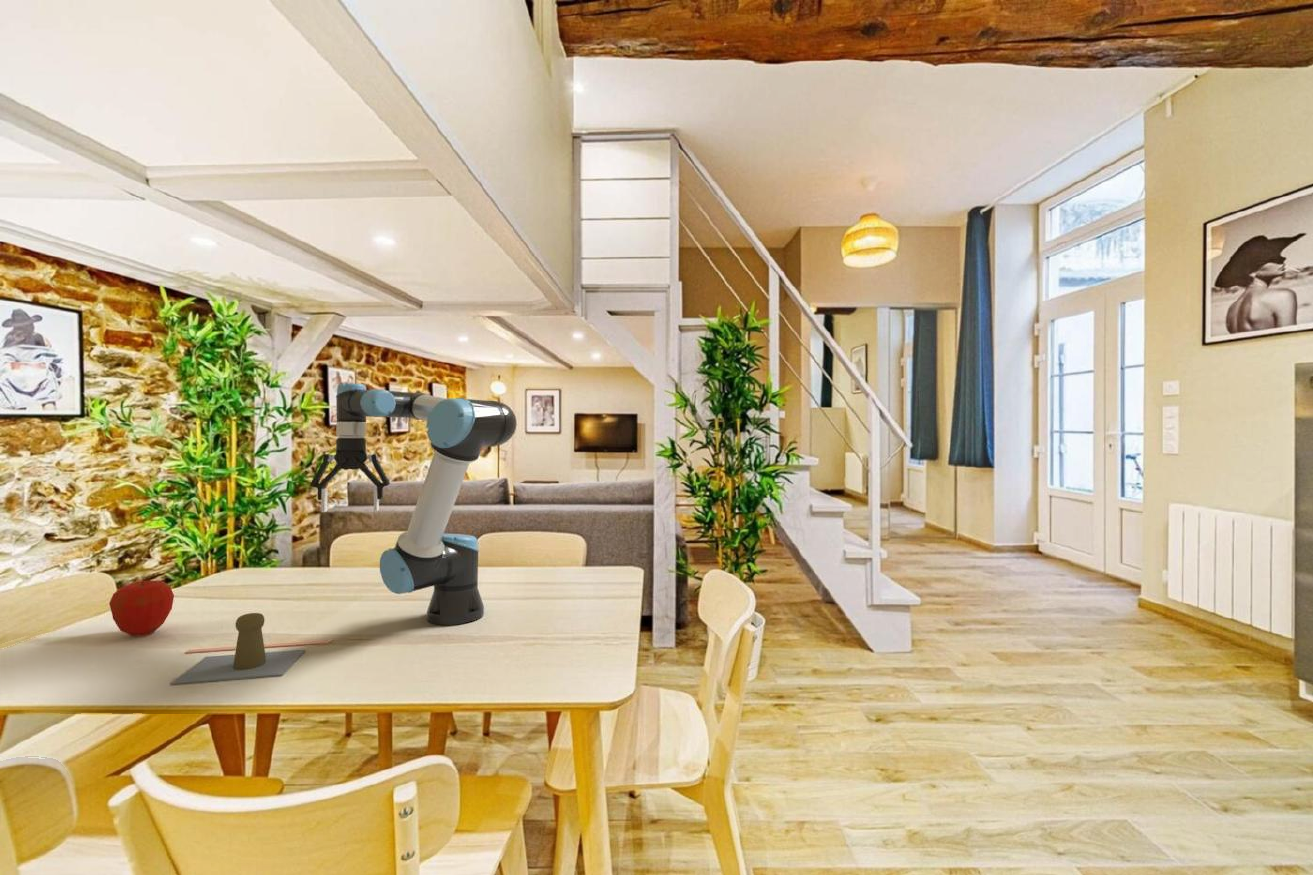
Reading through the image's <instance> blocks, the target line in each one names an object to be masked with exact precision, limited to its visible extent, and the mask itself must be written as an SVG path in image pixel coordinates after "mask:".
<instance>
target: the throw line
mask: <svg viewBox="0 0 1313 875" xmlns="http://www.w3.org/2000/svg"><path fill="white" fill-rule="evenodd" d="M331 642H332V639H326V640H312V641H311V640H309V641H297V642H294V641H293V642H284V643H282V642H281V643H268V644H267V643H266V644H264V648H265V649H268V648H269V649H270V648H281V647H295V646H296V647H297V646H310V645H325V644H326V645H329V644H330V643H331ZM228 650H229V651H236V646H228V647H227V646H226V647H225V646H223V647H211V648H210V647H209V648H194V649H188V650H186V651H185V652H184V654H186V653H187V654H200V653H212V652H213V651H215V652H227V651H228ZM213 653H214V652H213Z"/></svg>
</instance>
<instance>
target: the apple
mask: <svg viewBox="0 0 1313 875" xmlns="http://www.w3.org/2000/svg"><path fill="white" fill-rule="evenodd" d="M174 598H175V595H174V592H173V589H172V588H171V586H170V585H169V584H168V583H166V581H163V580H145V578H142V580H140V581H135V582H134V581H133V582H131V583H128V584H126V585H123V586H122V587H120V588H119V589H118V590H116V591H115V592H113V594H112V596H111V598H110V600H109V608H110V612H111V616H112V620H113V621H114V623H115V624H116V627H117V628H118V630H119V631H120V632H123V633H124V634H127V635H129V636H132V637H138V636H139V637H141V636H148V635H151V634H153V633H155V632H156V631H157V630H158V629H159V628H161V627H162V625H164V623H165V622H166V620H167V618H168V616H169V615H170V613H171V611H172V610H173V605H174Z"/></svg>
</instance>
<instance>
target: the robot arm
mask: <svg viewBox="0 0 1313 875" xmlns="http://www.w3.org/2000/svg"><path fill="white" fill-rule="evenodd" d="M335 398H336V426H335V427H336V432H335V433H336V435H335V436H337V438H336V439H335V440H336V441H335V442H336V443H335V444H336V446H335V448H336V449H335V454H330V453H325V454H323V457H322V462H321V464H320V465H319V467H318V469H317V471H316V473H315V474H314V476H313V478H312V480H311V482H310V484H309V486H310V487H314V488H316V489H317V499H318V501H321V502H320V503H321V510H320V511H321V512H320V513H325V512H328V487H326V486H327V485H328V484H329V482H331V481H332V479H334V478H335V476H336V475H337V474H338V473H339V472H340V471H341V470H345V471H346V470H347V471H348V470H351V471H357V470H360V471H361V472H362V473H363V474H364V475H365V476H366V477H367V478H368V479H369V480H370V481H371V482H372V483H373V484H374V486H375V488H373V511H374V512H377V511H379V510H380V500H383V496H384V495H383V493H384V488H385V487H387V486H389V485H390V482H391V481H389V479H388V476H387V475H386V472H385V471H384V468H383V467H382V465H381V464H380V462H379V455H378V454H377V453H373V454H367V448H366V447H367V439H366V438H364V437H366V436H367V417H368V418H369V417H371V418H372V417H373V418H409V419H414V420H420V421H425V422H426V424H425V425H426V428H427V430H426V435H427V438H428V440H429V442H430V448H431V449H432V450H433V452H434V453H433V456H432V459H431V462H430V464H429V466H428V470H427V472H426V477H425V478H424V482H423V484H422V487H421V490H420V494H419V496H418V500H417V503H416V505H415V507H414V510H413V513H412V516H411V518H410V519H411V520H410V522H409V525H408V528H407V531H405V532H403V533H401V534H399V535H398V537H397V540H396V543H395V546H394V548H388V549H387V550H384V551H383V552H382V553H381V554H380V555H381V556H380V558H379V572H380V575H381V579H382V582H383V584H384V585H385V587H386V588H387V589H388V591H390V592H391V593H394V594H397V595H401V594H407V593H409V594H410V593H412V592H416V591H419V590H423V589H426V588H431V587H433V593H432V596H431V599H430V601H429V605H428V607H427V610H426V620H427V622H428V623H430V624H435V625H440V626H454V625H462V623H463V624H467V623H466V622H468V623H471V622H470V621H472V622H474V621H473V620H475V619H477V620H480V619H481V618H482V617H483V616H484V615H485V607H484V606H485V605H484V603H483V599H482V597H481V593H480V591H479V585H478V581H479V580H478V579H479V578H478V577H479V575H478V574H479V551H480V550H479V542H478V539H477V537H476V536H474V535H469V534H463V533H462V534H461V533H445V531H446V528H447V525H448V522H449V520H450V517H451V515H452V513H453V509H454V507H455V504H456V500H457V498H458V495H459V493H460V491H461V487H462V485H463V481H464V480H465V477H466V473H467V471H468V469H469V466H470V464H471V463H473V462H476V461H477V460H478V458H479V456H480V454H481V451H482V448H486V447H497V446H502V445H503V444H505V443H507V442H508V441H510V439H511V438H512V437H513V436H514V434H515V432H516V430H517V426H518V424H517V418H516V415H515V412H514V411H513V410H512V409H511V407H510V406H509V405H507V404H505V403H504V402H500V401H496V400H484V399H483V400H482V399H469V398H464V397H456V398H445V397H440V396H433V395H431V394H428V393H423V392H407V391H405V392H404V391H394V390H387V389H383V388H372V389H367V386H366V385H365V384H363V383H354V382H350V383H348V382H344V383H339V384H338V385H337V388H336V396H335ZM333 460H335V462H336V463H337V464H336V465H335V466H334V467H333V469H332V470H331V471H330V472H329V473H328V474H327V475H326V476H325V477H324V478H323V479H322V477H323V475H324V473H325V472H326V470H327V468H328V466H329V465H330V463H331V462H333ZM367 460H369V462H370V463H372V465H373V467H374V469H375V471H376V472H377V475H378V477H379V478H380V479H379V478H378V477H377V476H376V475H375V474H374V473H373V472H372V471H371V470H370V468H369V467H368V466H367V465H366V462H367ZM321 479H322V480H321ZM380 480H381V481H380ZM483 614H484V615H483ZM479 618H480V619H479ZM475 621H476V620H475Z"/></svg>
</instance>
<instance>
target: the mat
mask: <svg viewBox="0 0 1313 875" xmlns="http://www.w3.org/2000/svg"><path fill="white" fill-rule="evenodd" d="M304 652H306V649H293V650H291V649H290V650H280V651H265V655H266V663H265V664H264V665H262V666H259V667H256V668H253V669H247V670H235V669H233V664H234V658H235V654H225V655H209V656H205V657H203V658H202V659H200V661H198V662H197V663H195V664H194V665H193V666H192V667H190V668H189V669H188V670H186V671H185V672H183V673H182V674H181V675H180V676H178V677H177V678H175V679H174V680H173V681H171V682H170V686H175V685H176V686H177V685H187V684H199V683H201V684H202V683H211V682H224V681H226V682H227V681H236V680H237V681H238V680H249V679H260V678H273V677H274V678H275V677H282V676H284V675H285V673H286V672H288V670H289V669H290V668H291V667H292V666H293V665H294V664H295V663H296V662H297V661H298V659H299V658H301V656H302V655H303V654H304Z"/></svg>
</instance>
